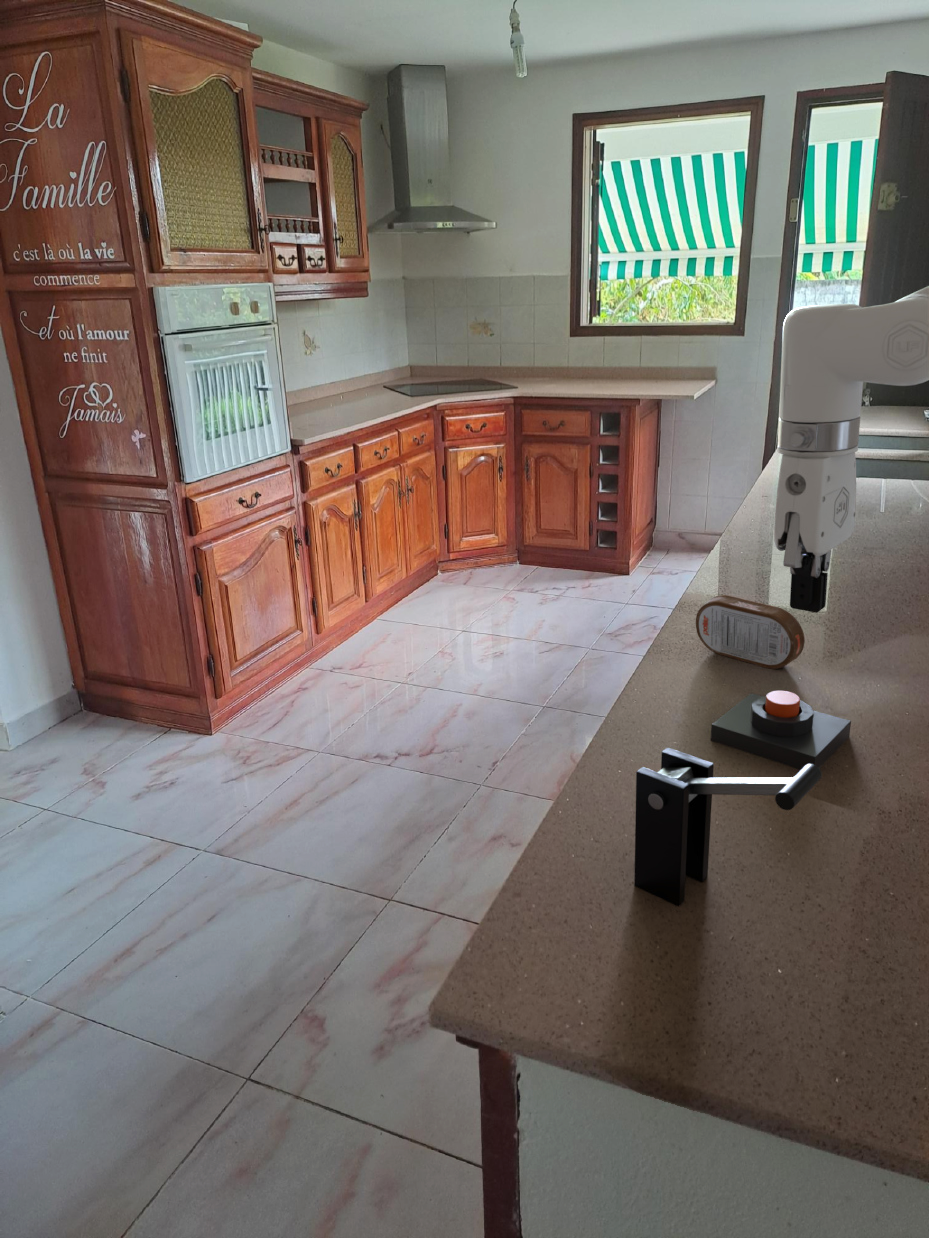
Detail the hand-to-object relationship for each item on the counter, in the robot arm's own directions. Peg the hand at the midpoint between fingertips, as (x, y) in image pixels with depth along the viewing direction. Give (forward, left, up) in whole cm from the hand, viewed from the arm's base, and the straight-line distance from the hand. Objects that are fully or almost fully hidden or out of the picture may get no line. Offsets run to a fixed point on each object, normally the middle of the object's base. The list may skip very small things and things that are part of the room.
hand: (807, 607), depth 94 cm
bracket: (-2, +31, -16) cm, 36 cm away
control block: (+2, 0, -16) cm, 17 cm away
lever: (-8, +31, -5) cm, 33 cm away
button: (+2, 0, -13) cm, 13 cm away
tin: (+15, -18, -17) cm, 28 cm away
